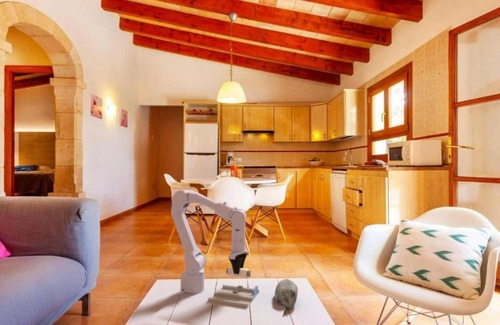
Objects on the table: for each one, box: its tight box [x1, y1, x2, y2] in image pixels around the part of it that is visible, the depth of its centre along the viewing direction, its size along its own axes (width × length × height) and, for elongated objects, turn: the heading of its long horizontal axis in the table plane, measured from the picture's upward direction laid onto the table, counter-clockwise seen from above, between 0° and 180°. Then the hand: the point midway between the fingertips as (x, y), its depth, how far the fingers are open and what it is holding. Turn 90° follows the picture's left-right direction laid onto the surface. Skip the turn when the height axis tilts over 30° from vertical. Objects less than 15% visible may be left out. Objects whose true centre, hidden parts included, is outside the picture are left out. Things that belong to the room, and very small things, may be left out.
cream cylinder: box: [225, 266, 252, 279], centre depth 124 cm, size 10×4×4 cm, turn 72°
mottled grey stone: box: [274, 278, 299, 310], centre depth 118 cm, size 14×10×10 cm
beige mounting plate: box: [206, 284, 260, 310], centre depth 120 cm, size 16×18×4 cm
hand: (238, 272), depth 124 cm, fingers closed on cream cylinder, 4 cm apart
